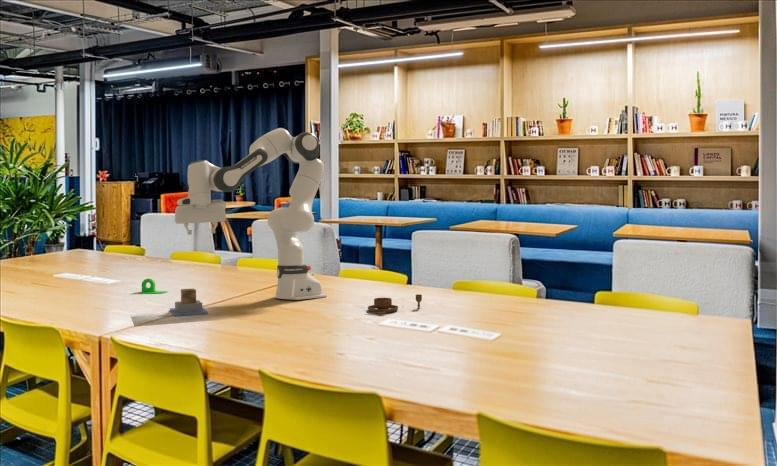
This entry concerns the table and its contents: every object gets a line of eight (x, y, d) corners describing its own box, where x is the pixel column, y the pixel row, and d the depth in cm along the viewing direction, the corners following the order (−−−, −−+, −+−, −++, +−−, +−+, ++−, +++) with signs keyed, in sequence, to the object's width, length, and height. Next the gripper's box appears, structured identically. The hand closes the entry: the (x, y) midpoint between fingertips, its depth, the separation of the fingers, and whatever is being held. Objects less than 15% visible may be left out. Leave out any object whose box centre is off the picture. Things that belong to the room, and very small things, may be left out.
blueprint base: (201, 308, 267) (201, 298, 267) (207, 314, 252) (207, 304, 252) (170, 310, 262) (169, 300, 262) (174, 316, 247) (174, 306, 247)
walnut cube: (194, 301, 260) (194, 288, 260) (196, 302, 256) (196, 289, 255) (181, 302, 258) (180, 289, 258) (182, 303, 254) (182, 290, 253)
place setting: (375, 307, 270) (375, 292, 270) (423, 309, 264) (423, 294, 264) (361, 314, 254) (361, 298, 253) (411, 316, 248) (411, 300, 247)
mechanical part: (138, 297, 301) (137, 279, 301) (143, 295, 307) (143, 278, 307) (164, 297, 301) (164, 279, 300) (169, 295, 307) (168, 278, 306)
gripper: (223, 199, 279) (225, 232, 279) (173, 200, 270) (174, 234, 271) (227, 199, 273) (228, 232, 274) (175, 200, 264) (177, 235, 265)
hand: (201, 233), depth 272 cm, fingers open, 8 cm apart
